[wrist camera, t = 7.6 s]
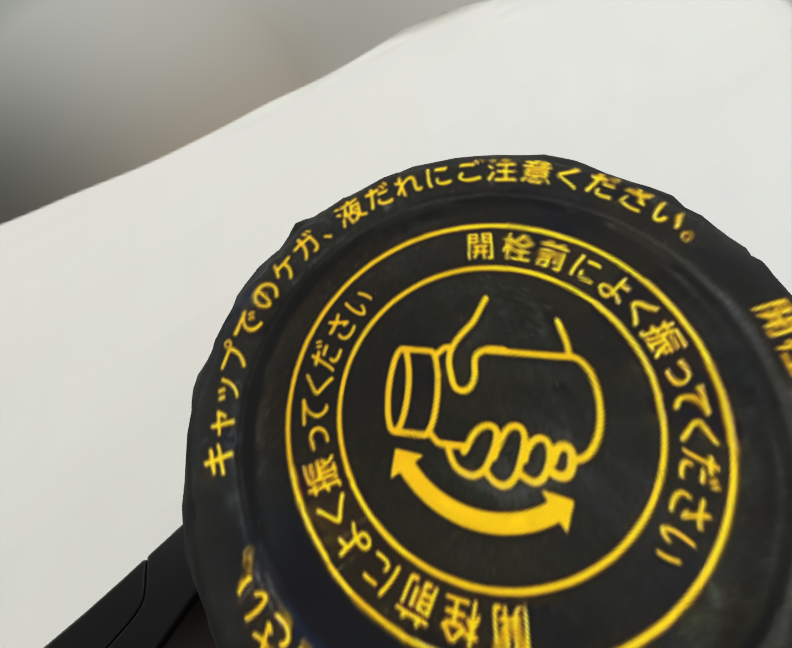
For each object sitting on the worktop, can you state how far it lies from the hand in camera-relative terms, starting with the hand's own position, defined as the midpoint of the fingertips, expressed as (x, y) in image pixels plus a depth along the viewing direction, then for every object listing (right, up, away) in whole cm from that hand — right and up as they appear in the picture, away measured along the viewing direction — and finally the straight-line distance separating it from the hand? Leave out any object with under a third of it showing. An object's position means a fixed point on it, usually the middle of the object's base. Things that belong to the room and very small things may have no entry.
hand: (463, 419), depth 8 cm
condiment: (+1, -4, +6) cm, 7 cm away
